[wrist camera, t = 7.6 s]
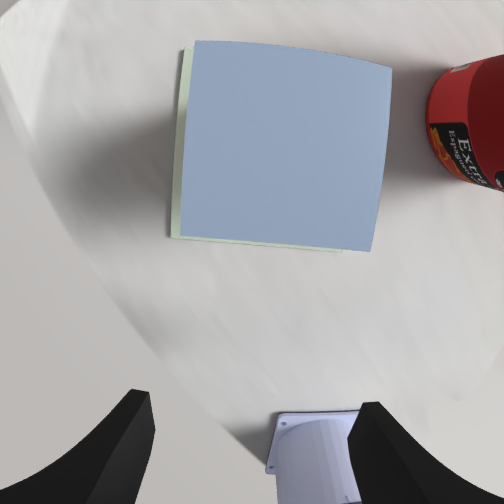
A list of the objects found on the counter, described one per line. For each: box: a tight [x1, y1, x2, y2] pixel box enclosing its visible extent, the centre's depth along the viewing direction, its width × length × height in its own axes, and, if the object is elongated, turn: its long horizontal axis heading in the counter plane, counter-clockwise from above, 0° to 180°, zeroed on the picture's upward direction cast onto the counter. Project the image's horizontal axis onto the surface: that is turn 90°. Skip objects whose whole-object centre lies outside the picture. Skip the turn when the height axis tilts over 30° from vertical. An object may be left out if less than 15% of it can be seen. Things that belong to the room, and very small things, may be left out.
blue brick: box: [180, 41, 392, 252], centre depth 10 cm, size 5×5×5 cm
